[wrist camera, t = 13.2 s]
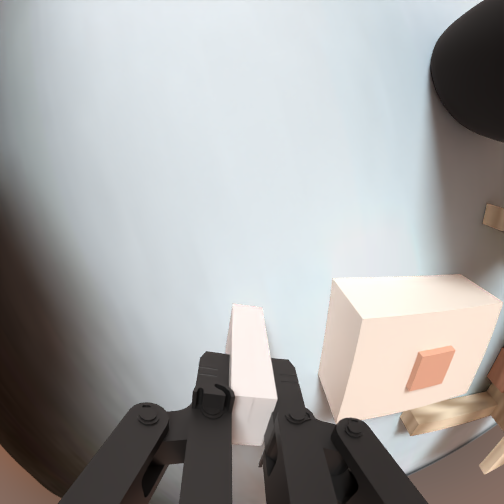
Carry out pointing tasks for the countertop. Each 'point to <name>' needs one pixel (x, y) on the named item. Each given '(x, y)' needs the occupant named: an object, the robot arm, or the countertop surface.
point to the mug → (473, 69)
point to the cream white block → (403, 342)
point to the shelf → (472, 406)
